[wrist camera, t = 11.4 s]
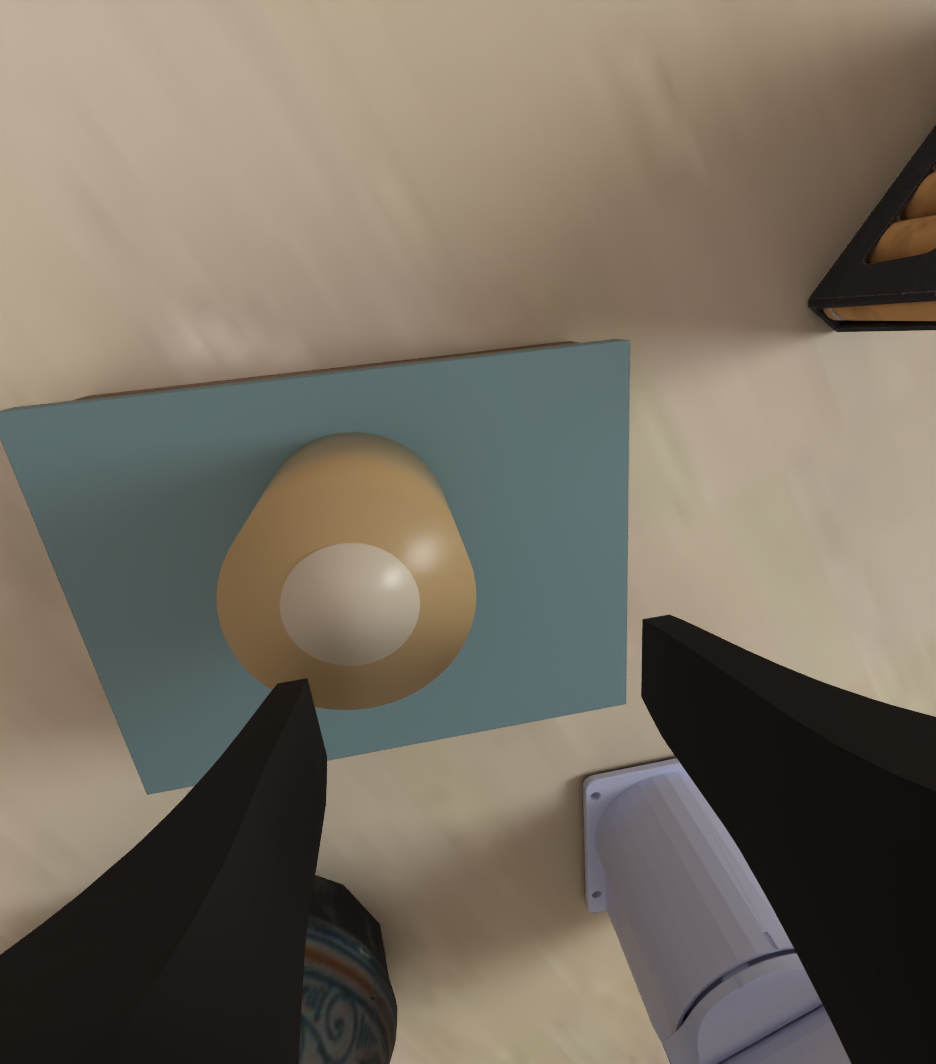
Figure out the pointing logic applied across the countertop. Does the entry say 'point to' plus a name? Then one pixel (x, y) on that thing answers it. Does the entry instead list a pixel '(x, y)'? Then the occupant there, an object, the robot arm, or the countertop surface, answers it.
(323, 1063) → the beer stein
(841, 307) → the ammunition clip
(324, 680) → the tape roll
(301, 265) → the countertop surface
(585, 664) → the lid
